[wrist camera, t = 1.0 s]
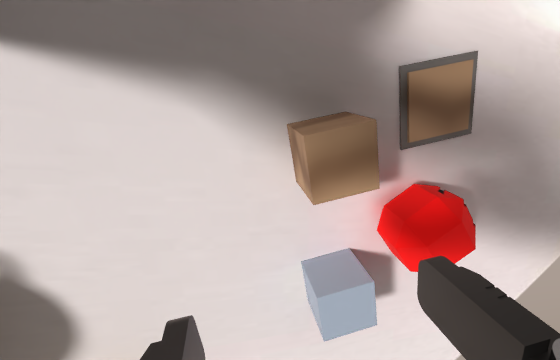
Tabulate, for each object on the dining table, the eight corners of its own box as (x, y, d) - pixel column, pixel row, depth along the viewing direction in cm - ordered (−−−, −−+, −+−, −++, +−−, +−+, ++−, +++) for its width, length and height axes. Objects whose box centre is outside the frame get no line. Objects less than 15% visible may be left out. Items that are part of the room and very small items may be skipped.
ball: (442, 214, 34) (499, 249, 27) (389, 253, 35) (432, 297, 28) (417, 166, 31) (474, 191, 24) (359, 208, 32) (398, 246, 24)
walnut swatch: (399, 66, 27) (402, 66, 26) (476, 51, 28) (480, 50, 27) (400, 149, 30) (403, 150, 29) (469, 133, 31) (473, 133, 30)
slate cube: (300, 261, 32) (317, 298, 27) (348, 247, 33) (374, 281, 28) (307, 299, 35) (324, 341, 29) (352, 286, 35) (376, 324, 30)
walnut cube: (286, 124, 27) (303, 135, 21) (345, 111, 27) (376, 119, 22) (296, 181, 29) (313, 205, 23) (350, 168, 30) (379, 188, 24)
